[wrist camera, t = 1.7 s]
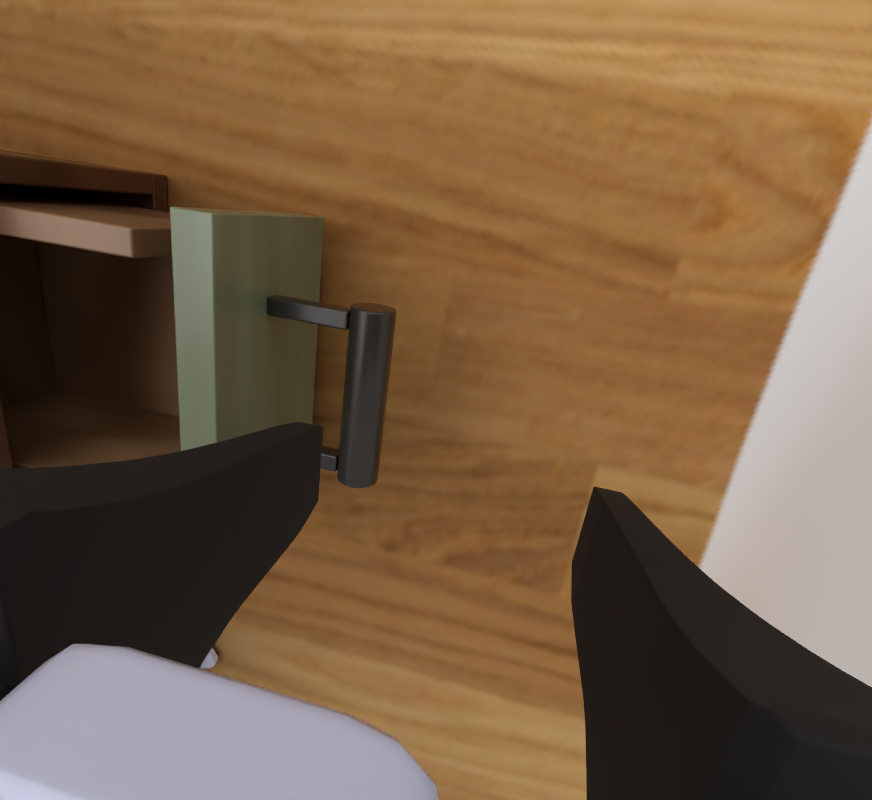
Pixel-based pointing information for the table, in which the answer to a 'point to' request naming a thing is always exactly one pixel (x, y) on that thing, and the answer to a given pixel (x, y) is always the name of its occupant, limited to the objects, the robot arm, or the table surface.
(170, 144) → the table surface
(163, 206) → the cabinet
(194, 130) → the table surface
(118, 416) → the drawer
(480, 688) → the table surface
